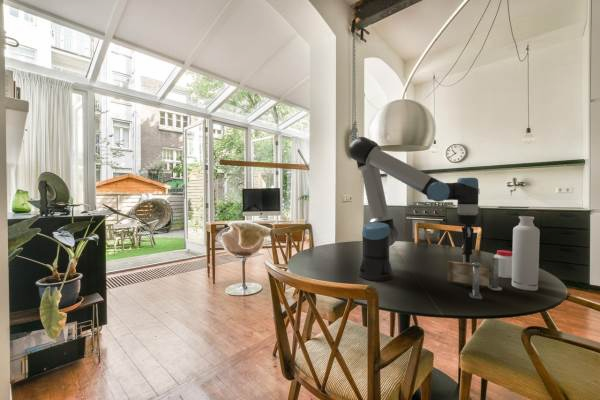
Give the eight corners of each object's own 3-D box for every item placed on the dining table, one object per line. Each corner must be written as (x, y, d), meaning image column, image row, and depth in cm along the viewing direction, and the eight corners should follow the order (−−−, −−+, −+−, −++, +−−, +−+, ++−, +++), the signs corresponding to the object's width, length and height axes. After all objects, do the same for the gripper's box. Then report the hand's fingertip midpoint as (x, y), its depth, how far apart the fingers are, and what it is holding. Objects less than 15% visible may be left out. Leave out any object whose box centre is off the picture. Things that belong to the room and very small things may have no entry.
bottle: (538, 292, 102) (541, 218, 101) (511, 287, 107) (513, 217, 106) (536, 286, 108) (539, 216, 107) (511, 281, 113) (513, 215, 112)
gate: (490, 284, 107) (490, 264, 107) (491, 286, 105) (491, 266, 105) (447, 279, 114) (447, 260, 114) (447, 280, 112) (448, 261, 111)
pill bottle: (507, 273, 125) (508, 249, 125) (519, 278, 118) (519, 253, 117) (489, 272, 126) (490, 249, 126) (500, 278, 119) (500, 253, 118)
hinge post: (489, 289, 104) (489, 259, 104) (487, 286, 108) (487, 256, 108) (503, 291, 102) (503, 260, 102) (500, 287, 106) (501, 257, 106)
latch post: (470, 297, 97) (471, 263, 97) (469, 294, 100) (469, 261, 100) (482, 299, 95) (483, 264, 95) (480, 295, 99) (481, 262, 98)
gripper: (480, 215, 107) (479, 274, 107) (476, 213, 118) (475, 266, 119) (458, 215, 110) (458, 272, 111) (456, 212, 122) (455, 264, 122)
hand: (467, 269), depth 115 cm, fingers closed
